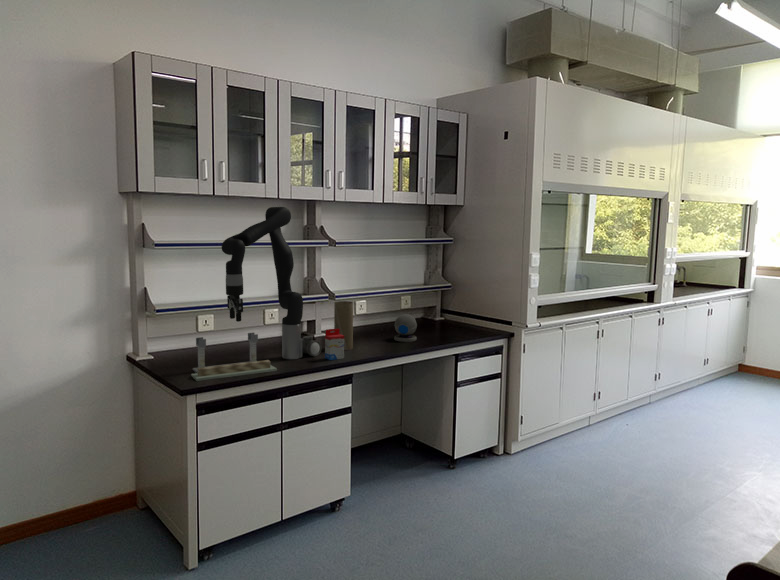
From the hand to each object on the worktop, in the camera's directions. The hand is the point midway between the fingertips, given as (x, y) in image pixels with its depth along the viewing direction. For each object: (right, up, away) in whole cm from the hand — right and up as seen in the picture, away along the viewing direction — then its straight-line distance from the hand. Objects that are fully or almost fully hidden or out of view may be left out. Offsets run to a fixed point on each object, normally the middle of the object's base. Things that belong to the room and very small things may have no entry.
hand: (235, 319), depth 263 cm
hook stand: (-6, -23, +8) cm, 25 cm away
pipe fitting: (+27, -20, +38) cm, 51 cm away
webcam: (+78, -16, +81) cm, 114 cm away
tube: (+44, -18, +55) cm, 73 cm away
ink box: (+42, -21, +31) cm, 56 cm away
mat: (0, -24, -1) cm, 24 cm away
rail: (0, -23, -1) cm, 23 cm away
